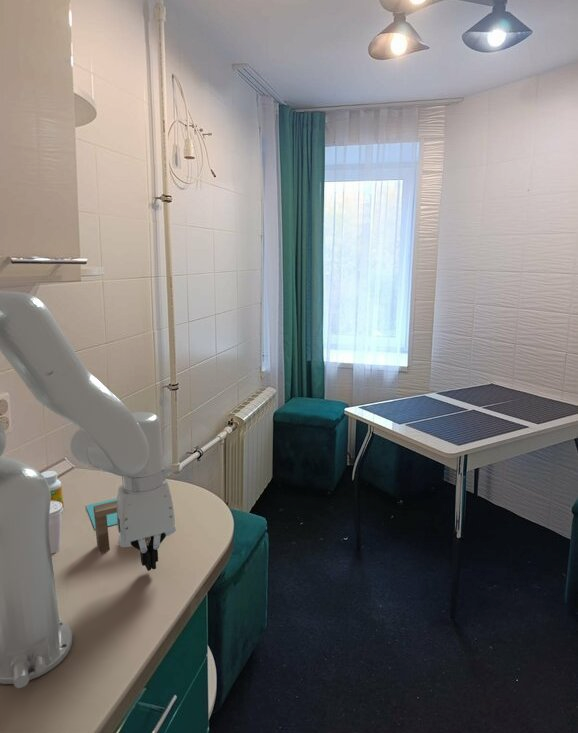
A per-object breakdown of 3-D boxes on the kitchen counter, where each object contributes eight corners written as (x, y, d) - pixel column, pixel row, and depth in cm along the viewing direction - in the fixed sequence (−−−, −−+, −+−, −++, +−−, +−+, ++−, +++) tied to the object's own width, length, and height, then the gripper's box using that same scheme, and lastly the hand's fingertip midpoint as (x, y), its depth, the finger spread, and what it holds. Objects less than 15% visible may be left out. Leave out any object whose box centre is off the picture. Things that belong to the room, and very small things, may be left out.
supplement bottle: (47, 519, 122) (42, 481, 120) (35, 512, 125) (30, 475, 123) (68, 510, 126) (64, 473, 124) (56, 504, 129) (52, 467, 127)
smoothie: (29, 550, 109) (21, 488, 106) (59, 538, 114) (52, 478, 111) (41, 562, 105) (33, 498, 102) (72, 548, 110) (65, 487, 107)
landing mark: (152, 515, 123) (152, 514, 123) (95, 529, 117) (95, 529, 117) (138, 493, 134) (138, 493, 134) (85, 506, 128) (85, 505, 128)
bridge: (167, 533, 115) (165, 495, 113) (99, 552, 108) (95, 512, 106) (164, 527, 118) (161, 490, 116) (97, 545, 111) (93, 506, 109)
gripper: (176, 463, 104) (181, 546, 108) (97, 480, 96) (106, 568, 100) (188, 477, 97) (193, 564, 101) (105, 496, 90) (114, 589, 94)
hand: (150, 566), depth 101 cm, fingers closed
